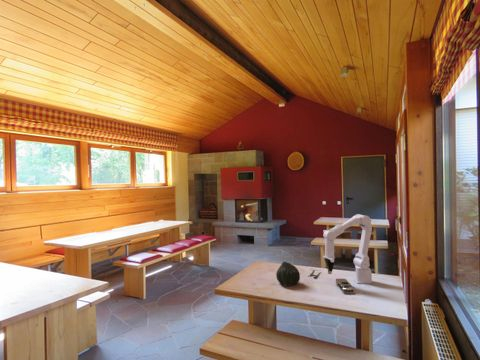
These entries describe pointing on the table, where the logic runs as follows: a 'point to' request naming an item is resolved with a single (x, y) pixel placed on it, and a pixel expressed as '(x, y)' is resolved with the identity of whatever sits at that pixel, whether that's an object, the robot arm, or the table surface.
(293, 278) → the squash
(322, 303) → the table surface
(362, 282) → the robot arm
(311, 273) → the hacksaw
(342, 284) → the chain ends
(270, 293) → the table surface
